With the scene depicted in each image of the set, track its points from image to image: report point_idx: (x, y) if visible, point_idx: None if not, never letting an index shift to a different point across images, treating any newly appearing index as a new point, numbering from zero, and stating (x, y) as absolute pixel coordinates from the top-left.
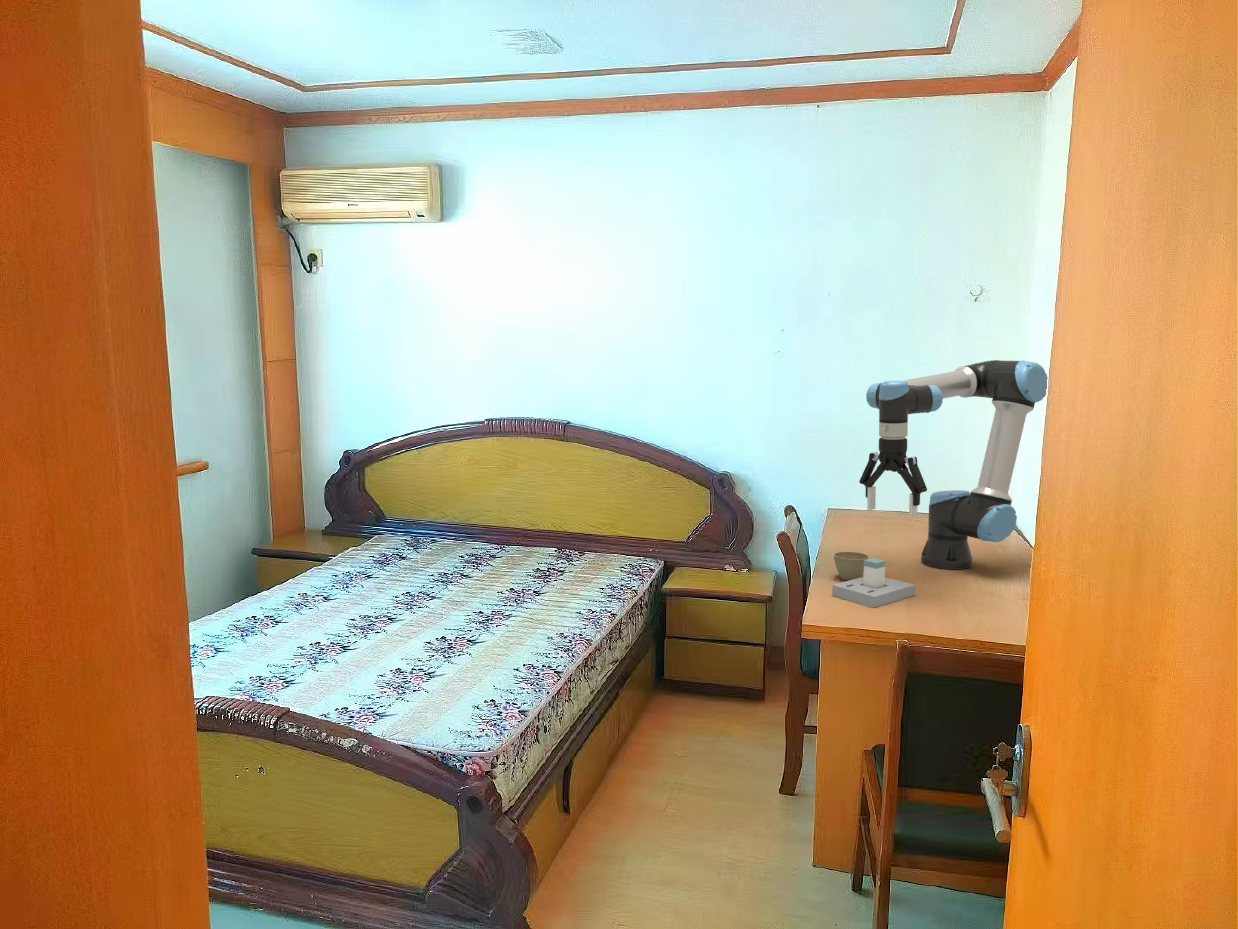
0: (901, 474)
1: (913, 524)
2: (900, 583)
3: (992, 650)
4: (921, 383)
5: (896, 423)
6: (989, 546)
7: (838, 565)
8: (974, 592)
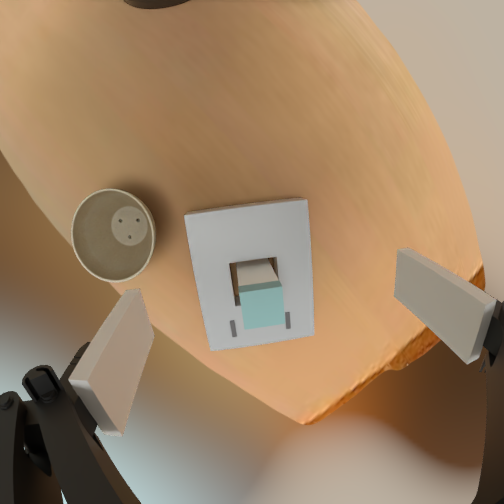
0: (487, 488)
1: None
2: (280, 220)
3: None
4: None
5: None
6: None
7: (118, 270)
8: (347, 79)
